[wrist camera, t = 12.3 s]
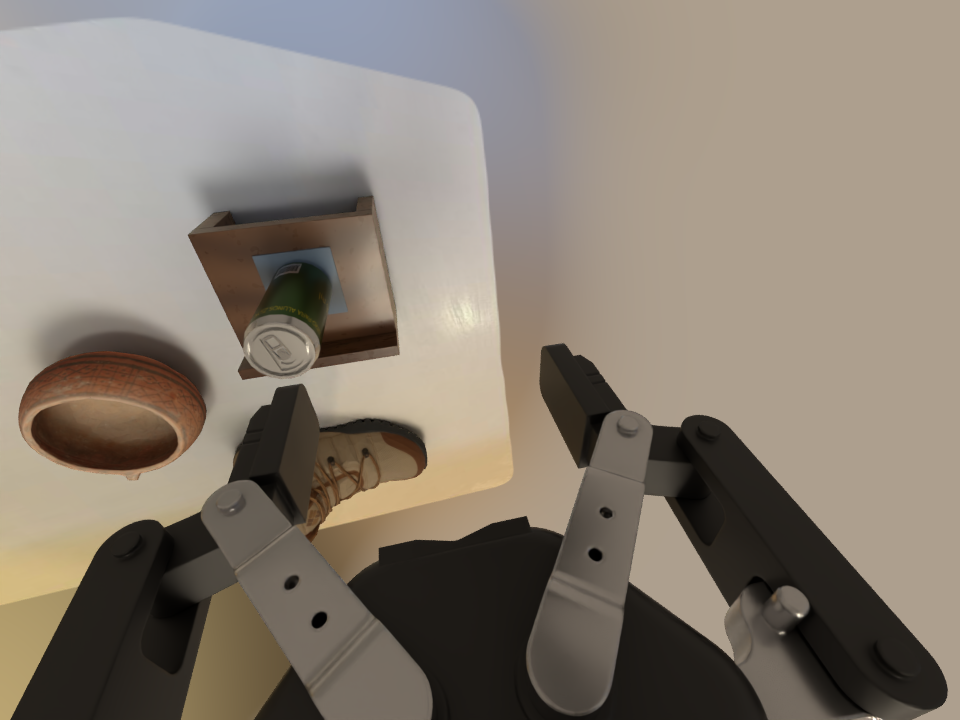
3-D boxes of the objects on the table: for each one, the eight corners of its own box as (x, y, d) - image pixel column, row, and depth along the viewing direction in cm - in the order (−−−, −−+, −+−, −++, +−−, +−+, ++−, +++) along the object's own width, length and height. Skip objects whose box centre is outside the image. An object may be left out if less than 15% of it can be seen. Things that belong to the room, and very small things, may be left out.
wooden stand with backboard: (213, 212, 41) (173, 246, 33) (373, 195, 43) (372, 223, 35) (264, 330, 49) (242, 380, 41) (396, 311, 51) (399, 354, 43)
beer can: (261, 273, 38) (221, 340, 29) (311, 249, 38) (288, 309, 28) (297, 318, 41) (272, 391, 32) (343, 296, 41) (333, 363, 32)
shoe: (423, 464, 68) (429, 544, 56) (242, 470, 61) (206, 563, 50) (427, 418, 62) (436, 497, 50) (230, 420, 56) (186, 510, 44)
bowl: (155, 447, 56) (118, 510, 48) (27, 374, 46) (-46, 437, 38) (244, 392, 53) (221, 448, 45) (128, 305, 44) (73, 356, 36)
